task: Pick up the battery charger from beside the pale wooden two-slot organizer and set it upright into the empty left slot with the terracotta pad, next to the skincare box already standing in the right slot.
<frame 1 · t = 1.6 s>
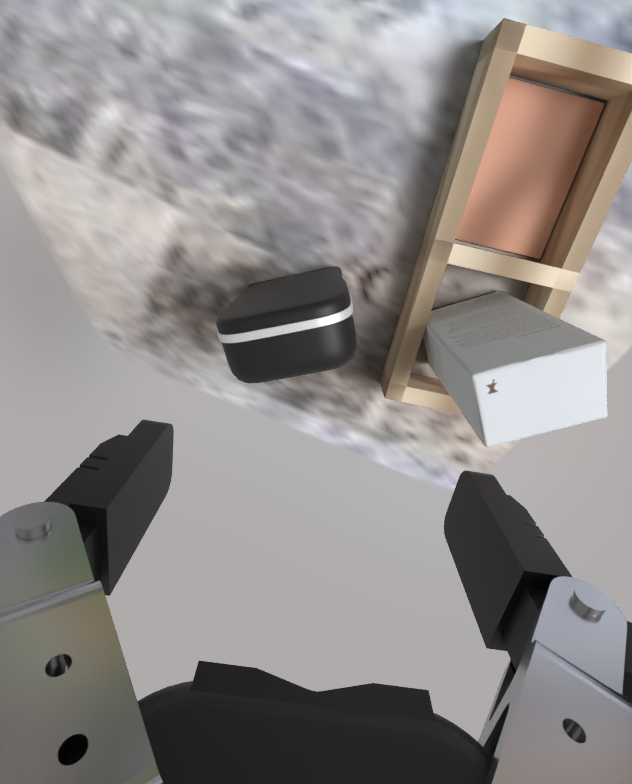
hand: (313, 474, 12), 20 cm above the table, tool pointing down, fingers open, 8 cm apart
slot organizer: (490, 252, 28), on the table
skincare box: (463, 328, 31), resting in slot organizer
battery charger: (299, 300, 30), on the table
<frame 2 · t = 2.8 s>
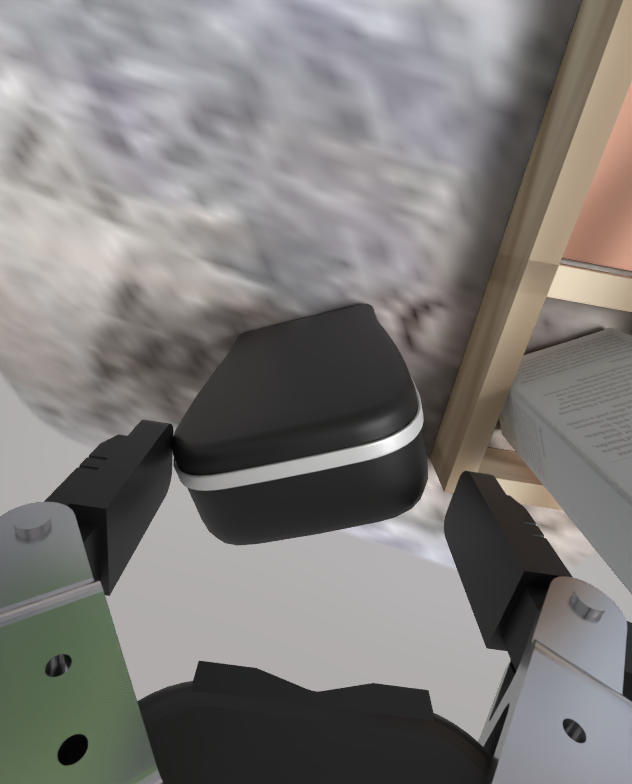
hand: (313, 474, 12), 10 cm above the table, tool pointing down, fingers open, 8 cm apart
slot organizer: (597, 273, 19), on the table
skincare box: (552, 381, 21), resting in slot organizer
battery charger: (313, 351, 21), on the table, touching gripper
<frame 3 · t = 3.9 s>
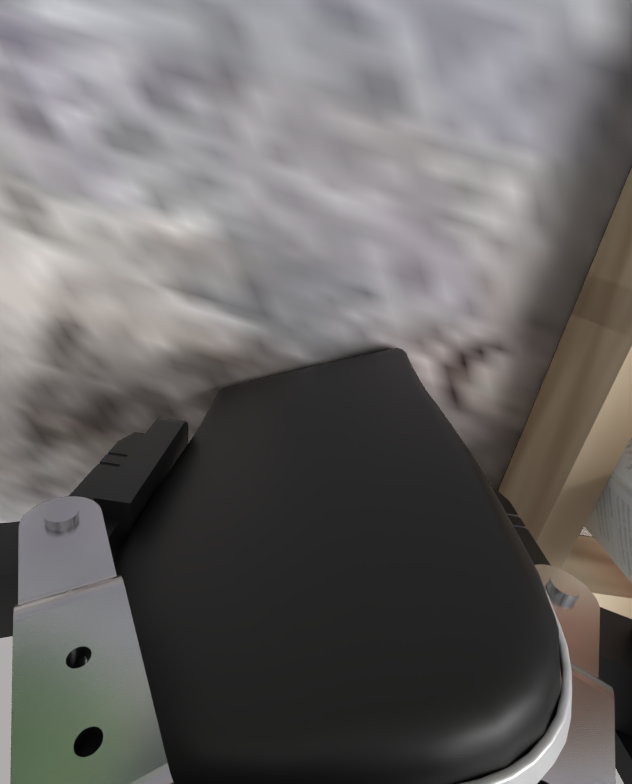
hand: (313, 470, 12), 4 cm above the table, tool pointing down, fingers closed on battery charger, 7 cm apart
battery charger: (321, 410, 15), on the table, touching gripper
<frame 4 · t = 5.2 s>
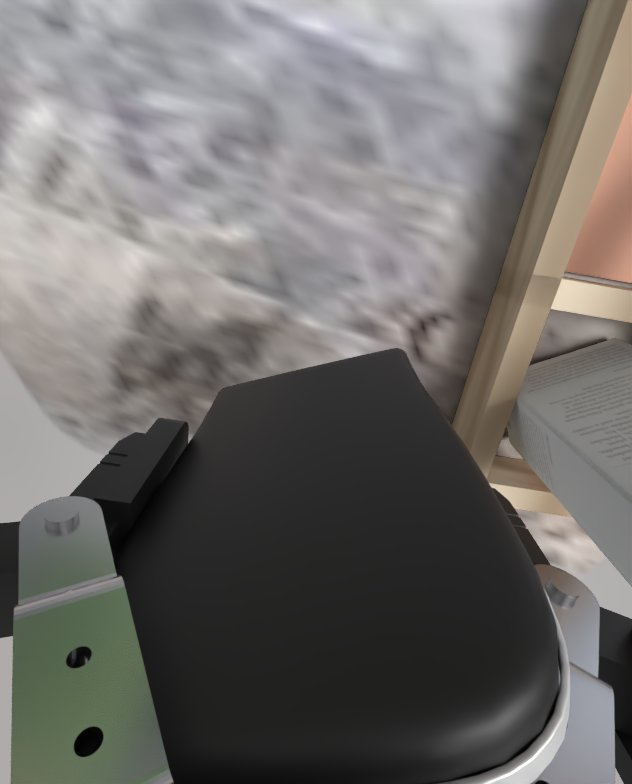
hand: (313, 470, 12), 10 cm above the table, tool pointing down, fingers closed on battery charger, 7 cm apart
slot organizer: (599, 285, 20), on the table
skincare box: (558, 390, 22), resting in slot organizer
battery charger: (321, 409, 15), point 6 cm above the table, touching gripper
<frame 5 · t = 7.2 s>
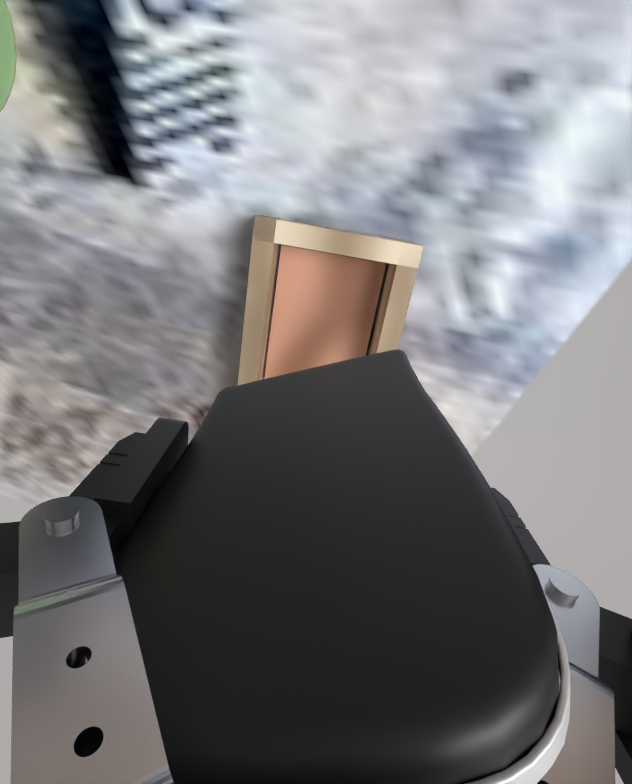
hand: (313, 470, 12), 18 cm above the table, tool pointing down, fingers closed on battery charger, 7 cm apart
slot organizer: (310, 389, 30), on the table
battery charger: (321, 410, 15), point 14 cm above the table, touching gripper
when the fingers open (5 cm above the table, at t = 10.0 s): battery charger stays where it is, point 1 cm above the table.
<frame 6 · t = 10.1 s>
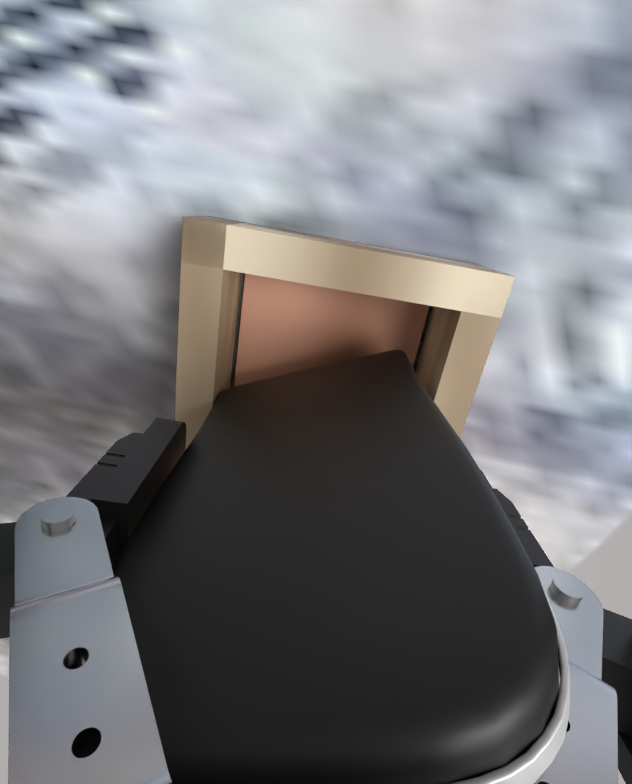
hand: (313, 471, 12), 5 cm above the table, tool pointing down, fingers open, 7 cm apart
slot organizer: (299, 495, 19), on the table
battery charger: (322, 410, 15), point 1 cm above the table
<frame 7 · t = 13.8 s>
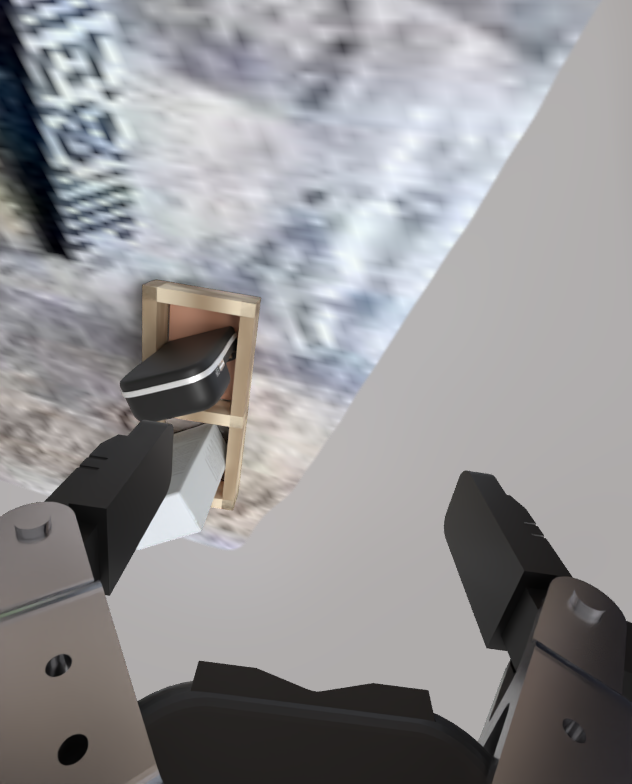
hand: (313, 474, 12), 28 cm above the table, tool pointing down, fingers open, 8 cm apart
slot organizer: (201, 397, 42), on the table
skincare box: (199, 443, 44), resting in slot organizer
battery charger: (207, 350, 40), resting on slot organizer
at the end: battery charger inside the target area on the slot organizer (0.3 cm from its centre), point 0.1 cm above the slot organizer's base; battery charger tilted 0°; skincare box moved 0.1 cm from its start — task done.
